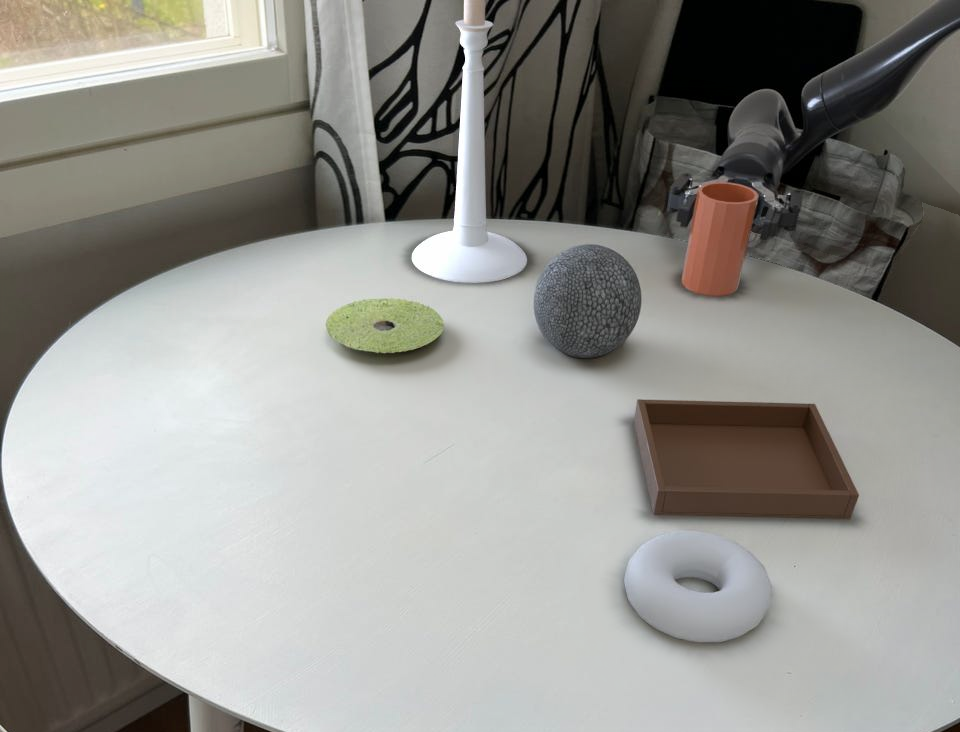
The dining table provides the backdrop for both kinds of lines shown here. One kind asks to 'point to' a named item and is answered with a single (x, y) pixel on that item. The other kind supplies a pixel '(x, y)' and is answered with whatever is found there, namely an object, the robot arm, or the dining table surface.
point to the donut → (692, 610)
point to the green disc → (384, 325)
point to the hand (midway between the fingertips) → (724, 224)
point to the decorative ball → (587, 301)
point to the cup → (719, 238)
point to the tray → (741, 460)
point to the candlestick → (471, 182)
